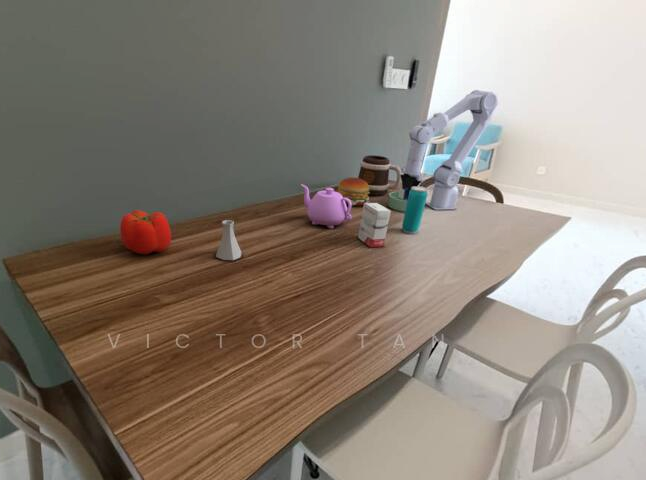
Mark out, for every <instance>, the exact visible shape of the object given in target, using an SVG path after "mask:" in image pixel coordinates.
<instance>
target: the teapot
mask: <svg viewBox="0 0 646 480" xmlns="http://www.w3.org/2000/svg"><path fill="white" fill-rule="evenodd" d="M300 186H301V187H302V189H303V192H304V194H303V195H304V198H303V205H304V206H305V208H306V215H307V217H308V219H309V220H310V221H311V224H312V225H322V226H326V227H327V228H328V229H333V228H335V227H334V226H337V225H341V224H342V223H343V222H345V221H351V220H352V218H353V216H352V214H351V213H350V211H351V209H352V207H353V205H352V203H351V201H350V199H348V198H343V197H342V195H341V194H340V193H338V191H335V189H334V188H332V187H325V190H319V191H317V192H316V193H315V195H314V196H313V197H312V198H311V197H310V190H309V188H308V186H307V185H305V184H303V183H301V184H300ZM344 200H345V201H347V202H348V206H347V205H346V203H345V201H344Z"/></svg>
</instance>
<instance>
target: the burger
mask: <svg viewBox="0 0 646 480" xmlns="http://www.w3.org/2000/svg"><path fill="white" fill-rule="evenodd" d="M337 186H338V187H337V192H338V193H340V194H341V195H342V197H343V198H348V199H350V201H351V203H352V206H364V203H370V197H369V195H368V194H369V193H370V192H369V185H368V184H367V182H365V181H364V180H362V179H359V178H358V177H347V178H343V179H342V180H340V182H338V185H337ZM344 201H345V200H344ZM345 203H346V206H347V205H348V202H347V201H345Z"/></svg>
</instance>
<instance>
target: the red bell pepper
mask: <svg viewBox="0 0 646 480" xmlns="http://www.w3.org/2000/svg"><path fill="white" fill-rule="evenodd" d="M119 230H120V236H121V240H122V242H123V245H124V247H125V248H126V249H128V250H129V251H131V252H134V253H135V254H139V255H144V256H145V255H149V254H151V253H152V252H155V253H162V252H164V251H165V250H167V249H168V248H169V247H170V246H171V243H172V232H171V228H170V225H169V221H168V219H167V217H166V216H165V215H164V214H163V213H162V212H158V211H154V212H153V213H150V214H148V213H147V212H145V211H143V210H132V211H131V212H130V213H127V214H124V215H123V216H122V218H121V220H120V227H119Z"/></svg>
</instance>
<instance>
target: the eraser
mask: <svg viewBox="0 0 646 480" xmlns="http://www.w3.org/2000/svg"><path fill="white" fill-rule="evenodd" d="M407 191H408V188H402V187H399V190H398V192H399V194H398V197H399V198H401V199H408V196H407Z"/></svg>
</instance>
